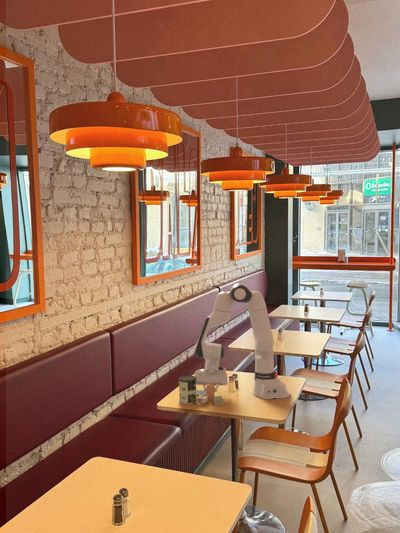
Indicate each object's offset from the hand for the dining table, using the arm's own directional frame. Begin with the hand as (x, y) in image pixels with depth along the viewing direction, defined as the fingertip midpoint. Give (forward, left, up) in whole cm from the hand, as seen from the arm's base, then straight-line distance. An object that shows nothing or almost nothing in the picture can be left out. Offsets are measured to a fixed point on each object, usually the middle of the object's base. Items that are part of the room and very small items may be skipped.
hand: (210, 391), depth 293 cm
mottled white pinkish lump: (+4, +7, -5) cm, 10 cm away
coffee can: (+13, +4, -5) cm, 15 cm away
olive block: (-5, +6, -5) cm, 10 cm away
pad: (+6, -9, -5) cm, 12 cm away
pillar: (0, -1, -5) cm, 5 cm away
